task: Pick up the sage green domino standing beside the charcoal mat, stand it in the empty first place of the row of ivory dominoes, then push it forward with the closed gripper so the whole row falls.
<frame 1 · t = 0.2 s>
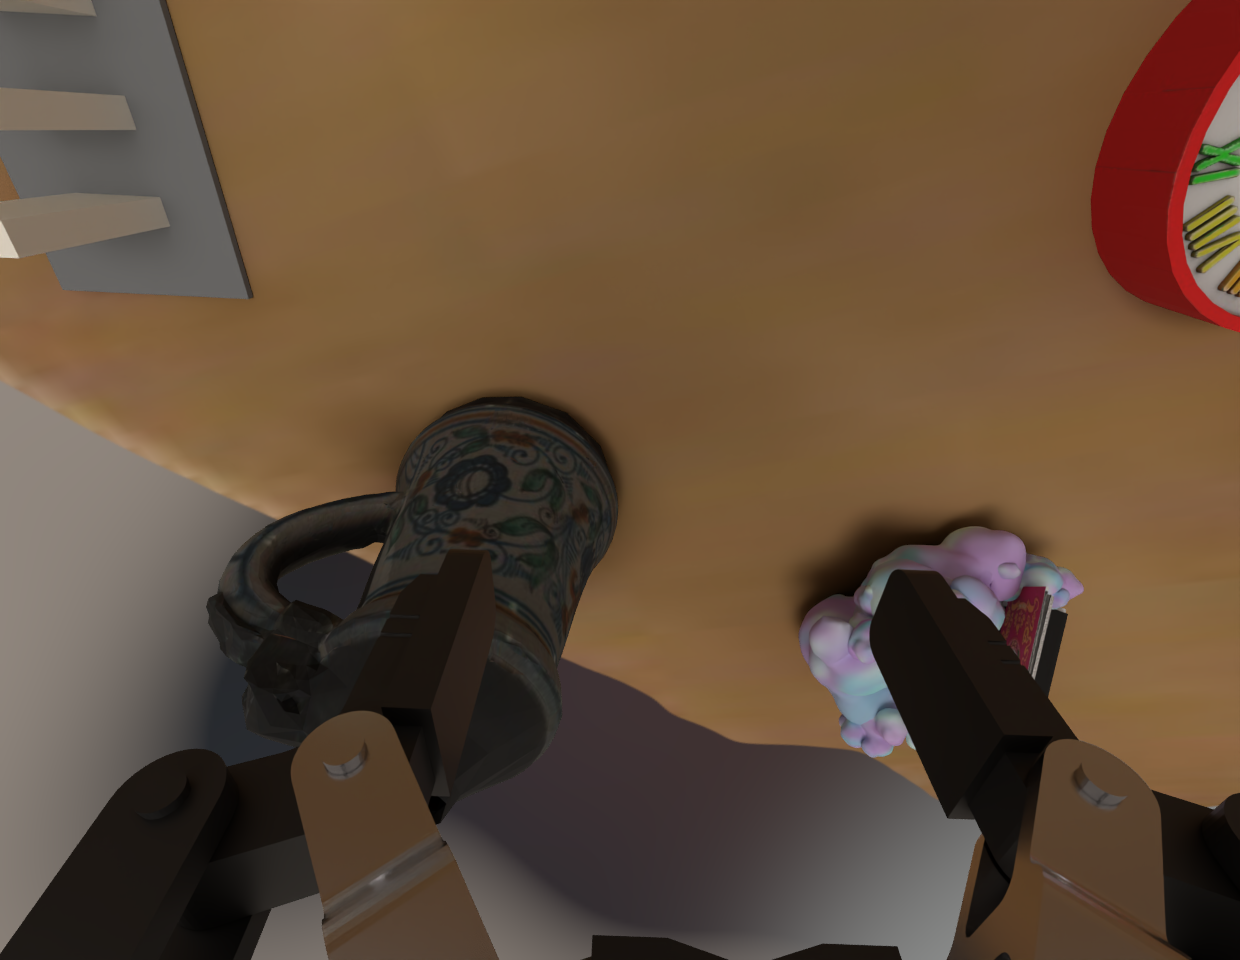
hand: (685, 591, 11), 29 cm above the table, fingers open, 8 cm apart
domino 5: (85, 110, 31), resting on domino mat
beer stein: (496, 484, 45), on the table
swirly pastel blob: (909, 588, 50), on the table
domino 6: (123, 209, 34), resting on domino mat
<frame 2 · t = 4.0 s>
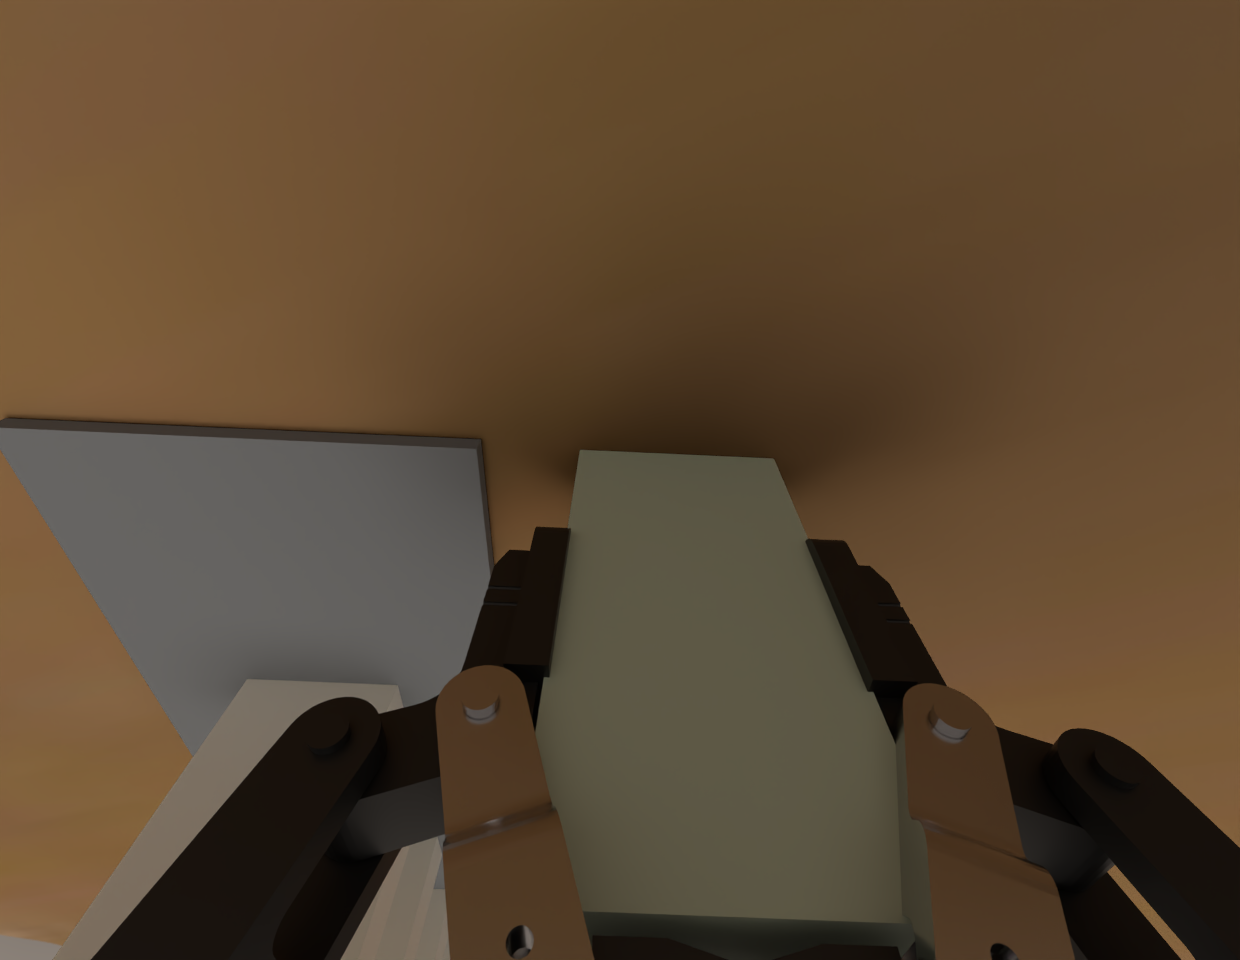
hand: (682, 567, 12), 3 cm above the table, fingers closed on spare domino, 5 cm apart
domino 2: (328, 697, 19), resting on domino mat
domino 5: (401, 895, 27), resting on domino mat
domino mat: (375, 800, 24), on the table
domino 3: (358, 779, 22), resting on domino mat
domino 4: (382, 843, 25), resting on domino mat
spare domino: (674, 480, 15), on the table, touching gripper
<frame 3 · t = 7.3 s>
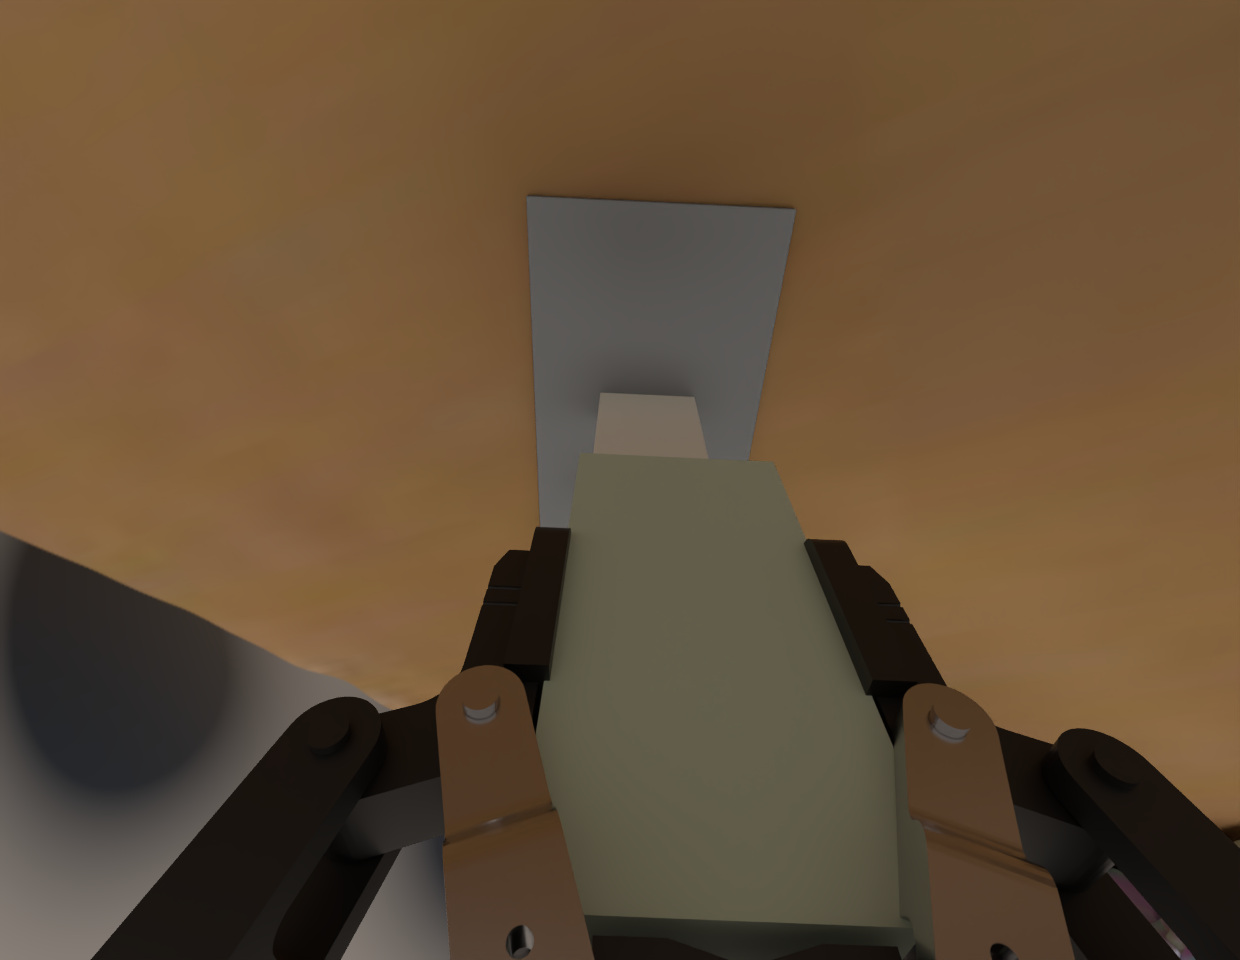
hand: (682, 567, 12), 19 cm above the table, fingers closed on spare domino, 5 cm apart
domino 2: (646, 408, 30), resting on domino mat
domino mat: (637, 515, 35), on the table
swirly pastel blob: (1174, 861, 57), on the table
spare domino: (673, 483, 15), point 16 cm above the table, touching gripper
when the fingers open (5 cm above the table, at t = 10.3 s): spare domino stays where it is, resting on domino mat.
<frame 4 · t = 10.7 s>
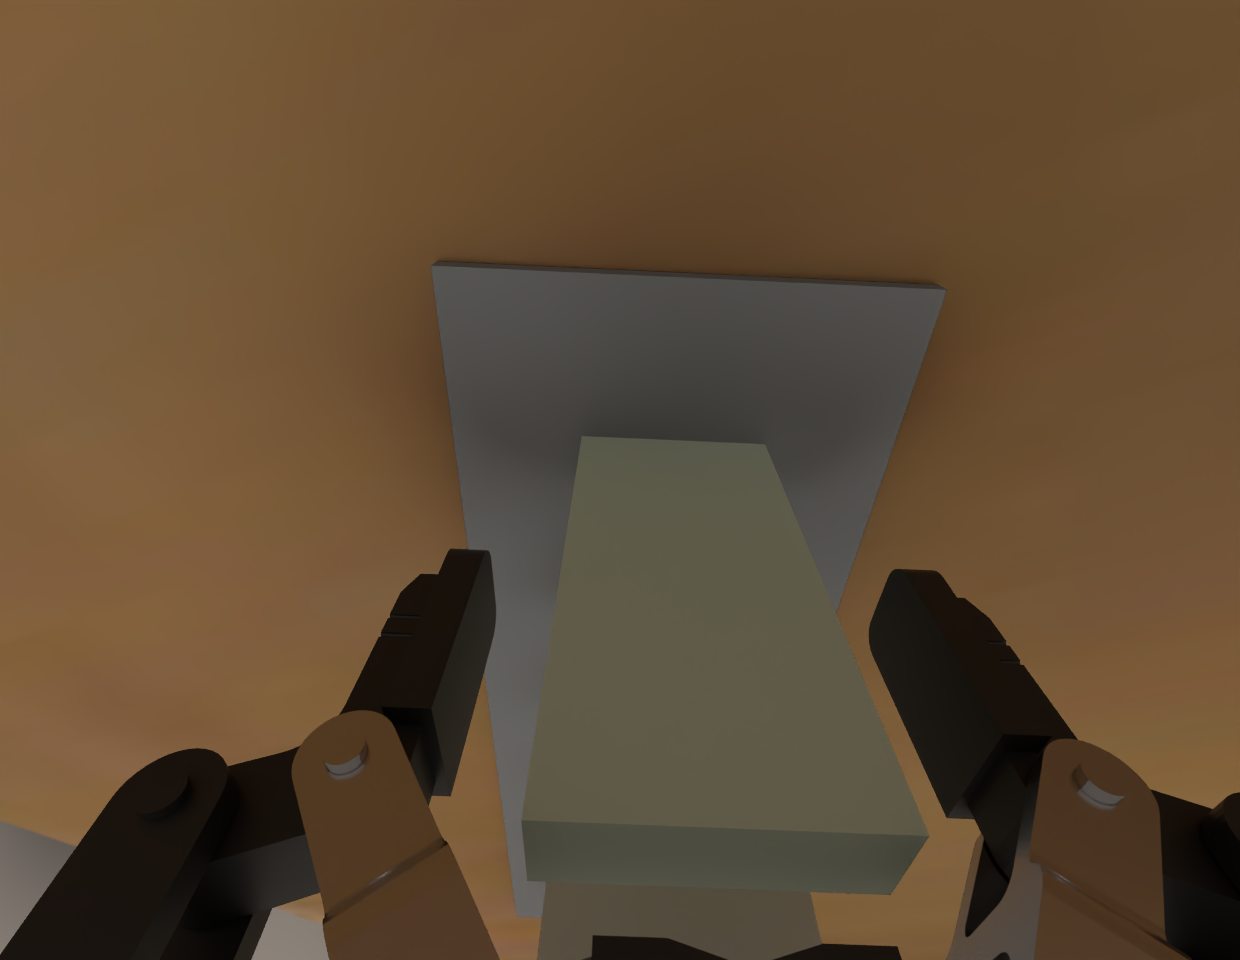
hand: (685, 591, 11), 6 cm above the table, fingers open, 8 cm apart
domino 2: (656, 594, 18), resting on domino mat
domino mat: (642, 722, 23), on the table
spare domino: (670, 465, 16), resting on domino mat
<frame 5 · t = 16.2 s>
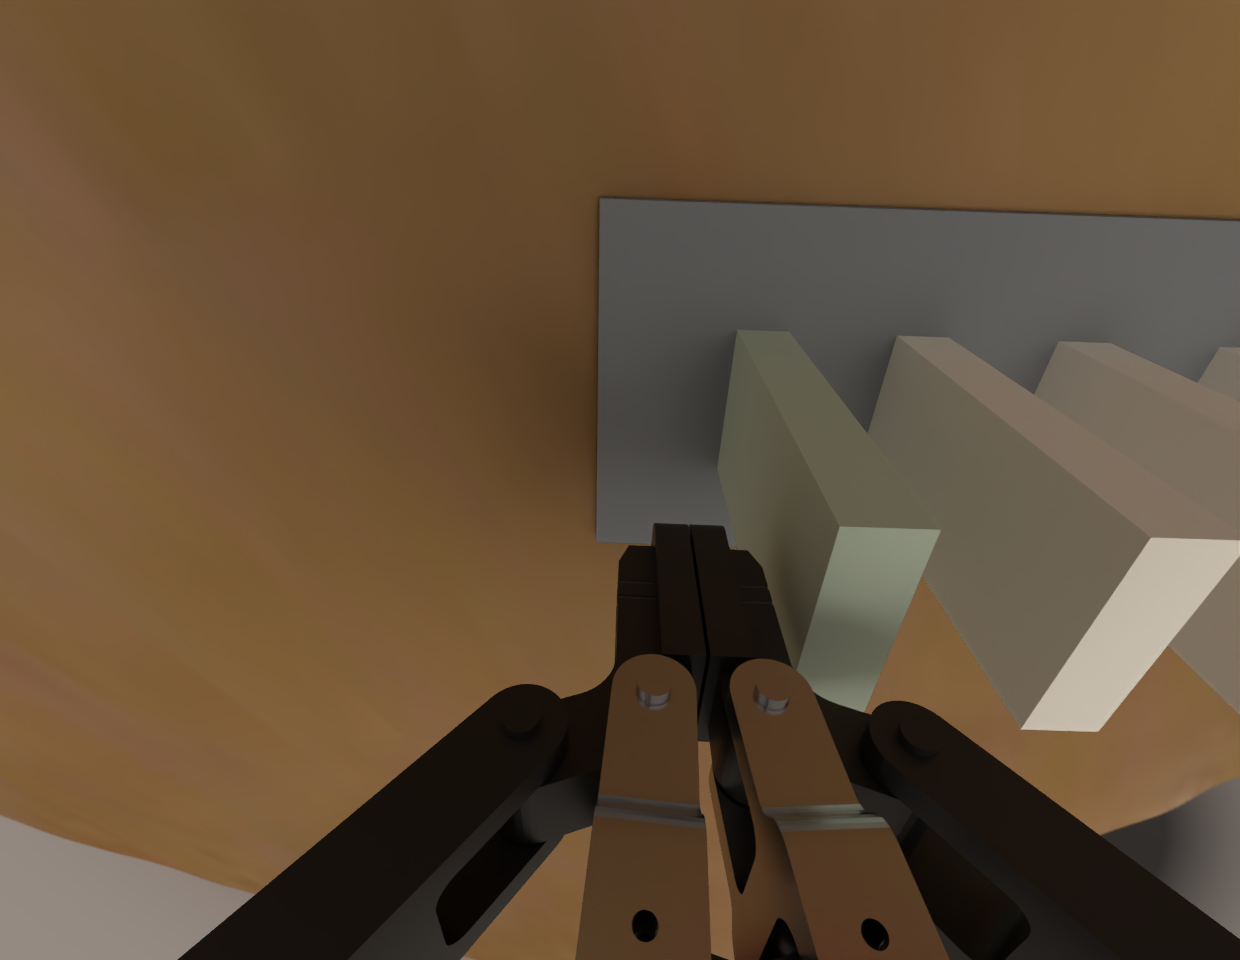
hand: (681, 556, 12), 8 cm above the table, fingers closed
domino 2: (898, 410, 19), resting on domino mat
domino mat: (1112, 411, 19), on the table
domino 3: (1048, 415, 19), resting on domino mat
domino 4: (1198, 420, 19), resting on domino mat
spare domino: (750, 404, 19), resting on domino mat, touching gripper
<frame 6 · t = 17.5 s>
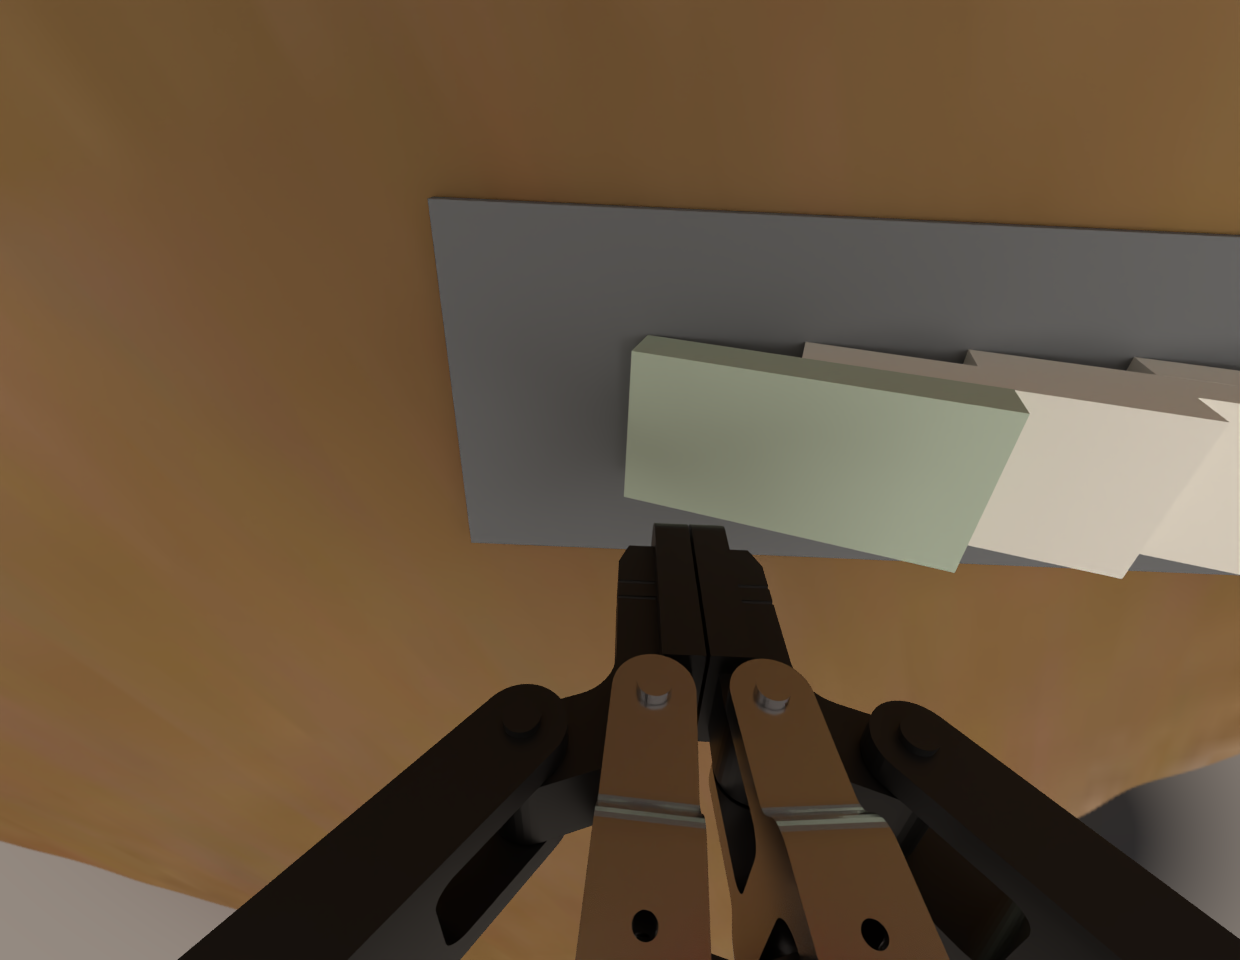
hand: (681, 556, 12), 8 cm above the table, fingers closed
domino 2: (787, 425, 18), point 1 cm above the table, tilted 72°, touching domino 3, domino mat, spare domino
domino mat: (971, 417, 19), on the table
domino 3: (943, 432, 18), point 1 cm above the table, tilted 72°, touching domino 2, domino 4, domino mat
domino 4: (1102, 439, 18), point 1 cm above the table, tilted 71°, touching domino 3, domino 5, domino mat
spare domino: (635, 418, 18), point 1 cm above the table, tilted 72°, touching domino 2
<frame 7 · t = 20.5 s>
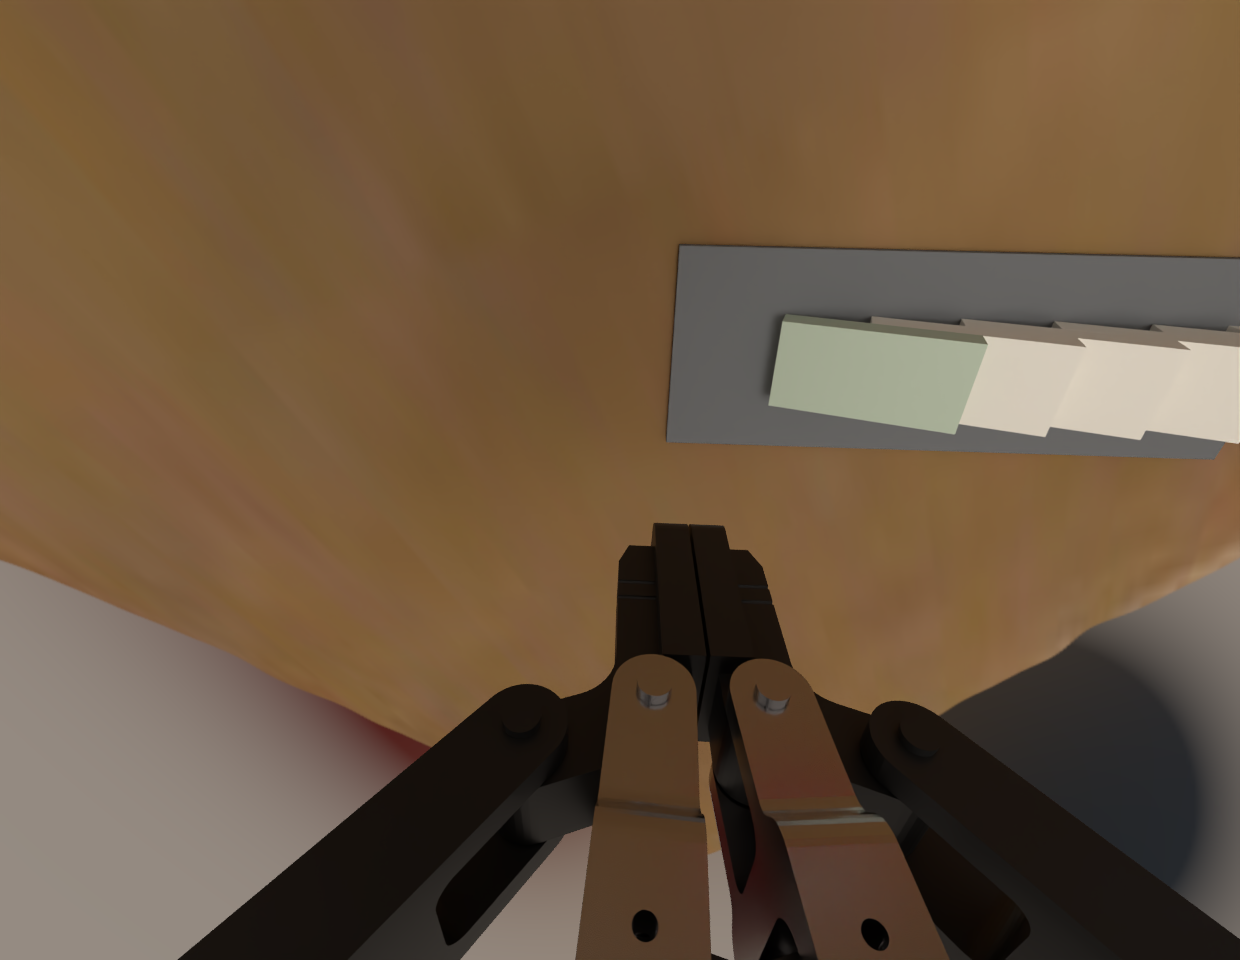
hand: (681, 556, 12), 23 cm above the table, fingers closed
domino 2: (860, 362, 33), point 1 cm above the table, tilted 72°, touching domino 3, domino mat, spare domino
domino 5: (1135, 371, 32), point 1 cm above the table, tilted 71°, touching domino 4, domino 6
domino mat: (965, 358, 34), on the table
domino 3: (949, 365, 33), point 1 cm above the table, tilted 72°, touching domino 2, domino 4, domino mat
domino 4: (1039, 367, 32), point 1 cm above the table, tilted 71°, touching domino 3, domino 5, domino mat
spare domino: (776, 360, 33), point 1 cm above the table, tilted 72°, touching domino 2
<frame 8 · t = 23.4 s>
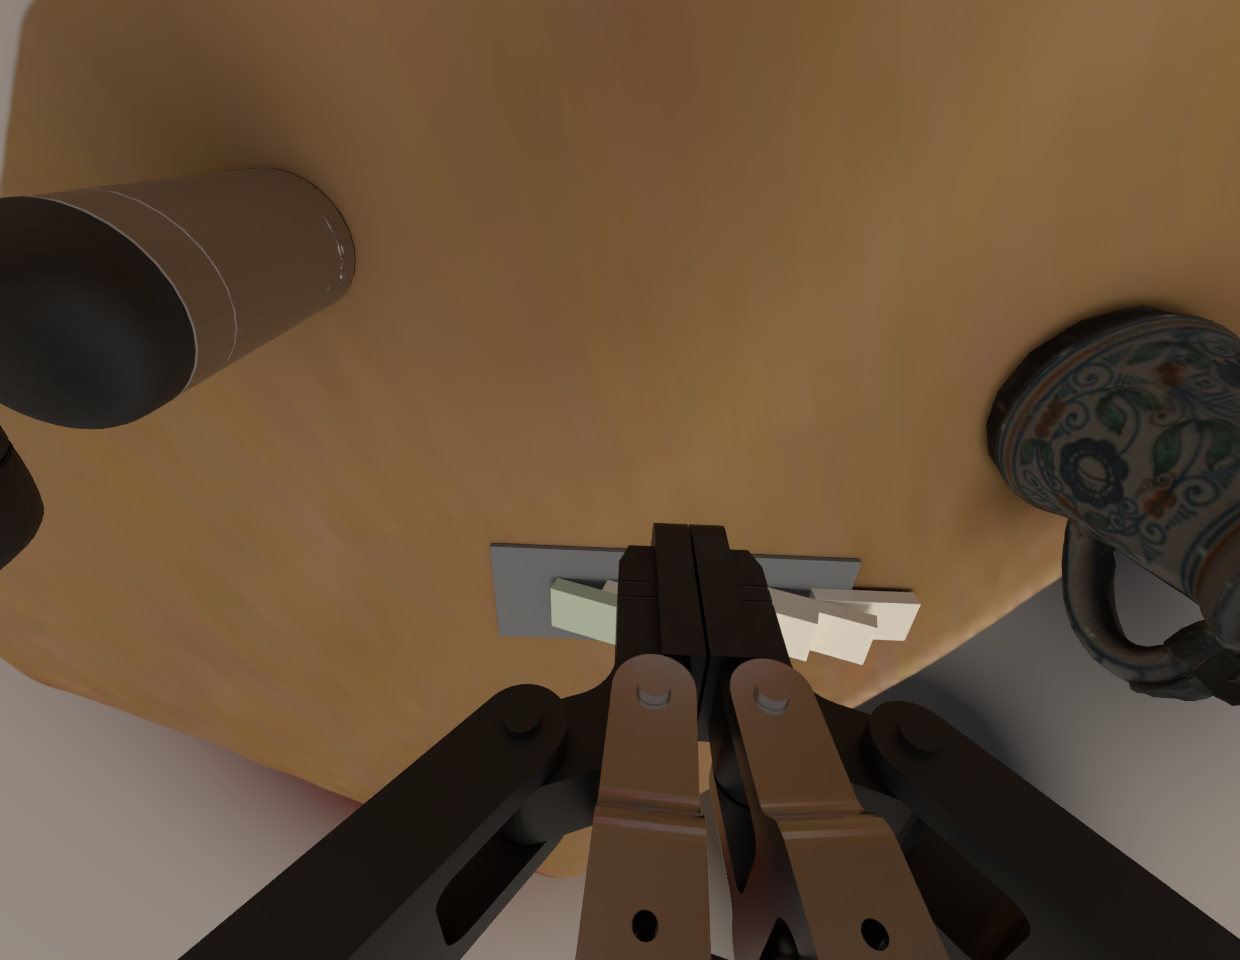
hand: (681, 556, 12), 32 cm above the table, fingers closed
domino 5: (762, 611, 55), point 1 cm above the table, tilted 71°, touching domino 4, domino 6
beer stein: (1079, 422, 46), on the table
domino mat: (670, 597, 57), on the table
domino 4: (707, 608, 55), point 1 cm above the table, tilted 71°, touching domino 3, domino 5, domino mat
domino 6: (808, 612, 56), point 1 cm above the table, tilted 90°, touching domino 5, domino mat
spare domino: (554, 602, 55), point 1 cm above the table, tilted 72°, touching domino 2
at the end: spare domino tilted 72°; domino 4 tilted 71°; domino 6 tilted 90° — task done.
